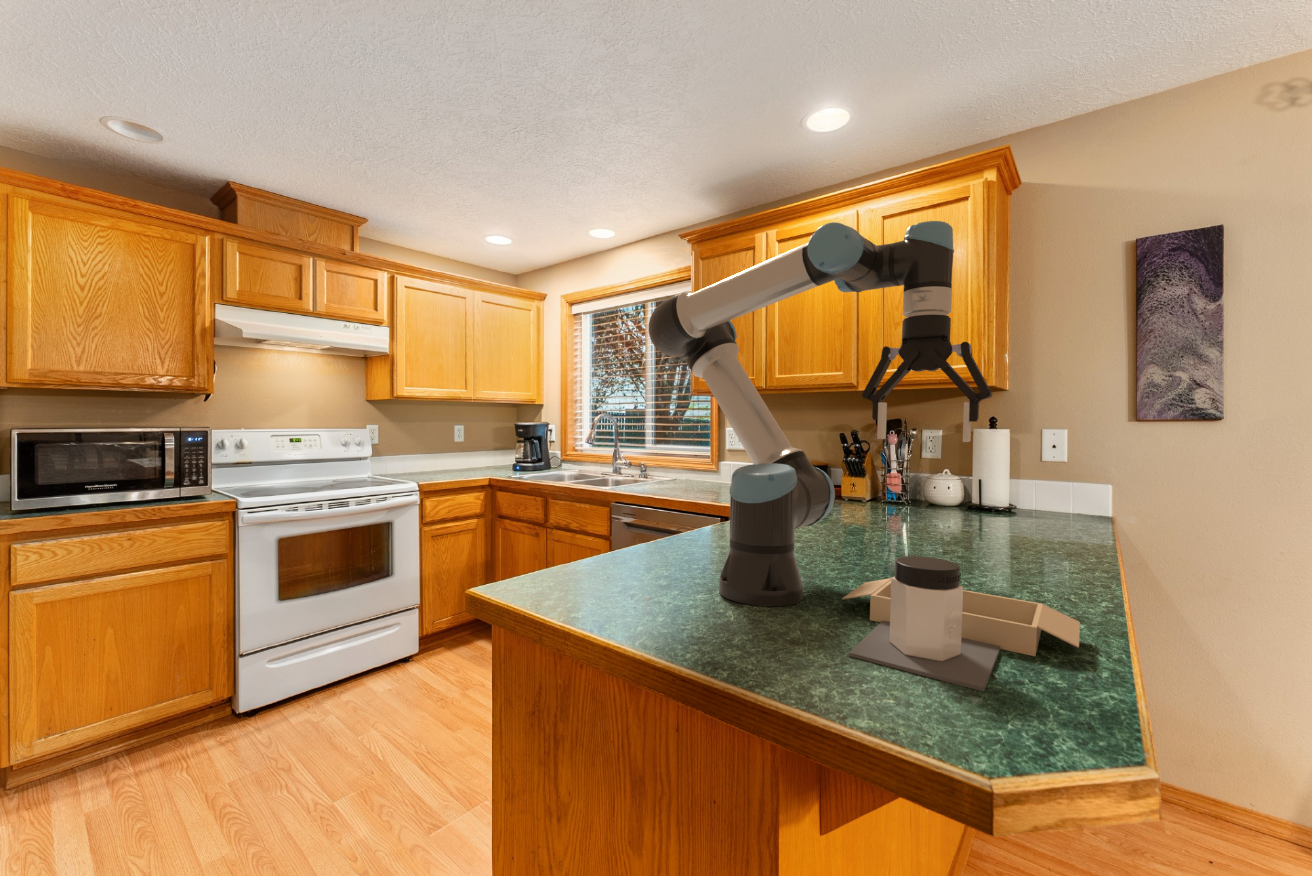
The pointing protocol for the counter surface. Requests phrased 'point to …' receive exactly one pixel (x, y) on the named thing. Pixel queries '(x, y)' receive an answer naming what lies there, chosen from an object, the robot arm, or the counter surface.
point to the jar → (926, 608)
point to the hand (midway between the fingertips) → (922, 440)
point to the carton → (989, 618)
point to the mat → (960, 670)
